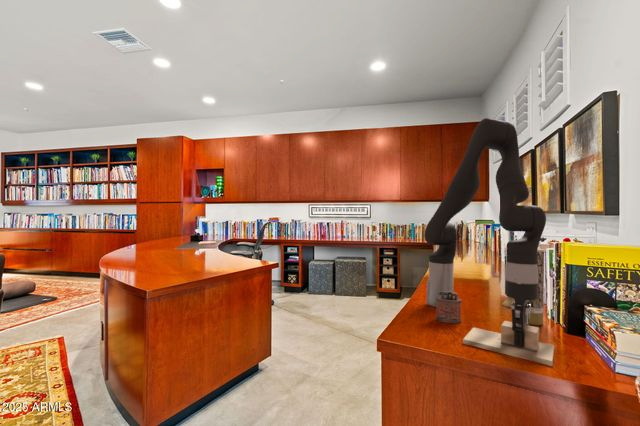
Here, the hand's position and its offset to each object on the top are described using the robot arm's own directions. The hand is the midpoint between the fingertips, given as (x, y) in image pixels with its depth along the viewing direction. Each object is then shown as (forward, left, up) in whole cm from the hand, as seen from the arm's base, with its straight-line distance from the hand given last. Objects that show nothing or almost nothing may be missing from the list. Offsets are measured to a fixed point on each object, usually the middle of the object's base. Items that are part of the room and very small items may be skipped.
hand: (520, 342), depth 83 cm
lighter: (-22, +11, -2) cm, 25 cm away
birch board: (-3, 0, -2) cm, 4 cm away
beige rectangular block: (0, 0, -1) cm, 1 cm away
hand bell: (-7, +47, -2) cm, 48 cm away
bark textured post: (0, +28, -2) cm, 28 cm away
